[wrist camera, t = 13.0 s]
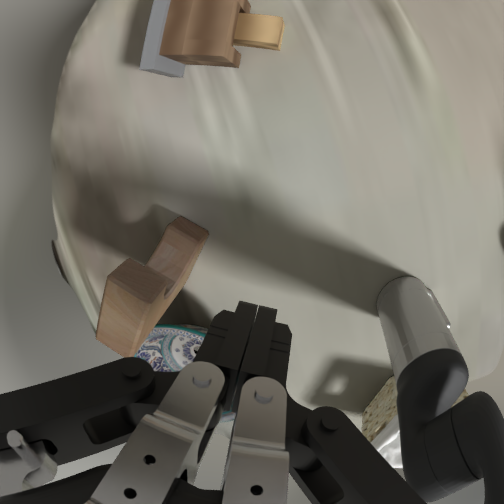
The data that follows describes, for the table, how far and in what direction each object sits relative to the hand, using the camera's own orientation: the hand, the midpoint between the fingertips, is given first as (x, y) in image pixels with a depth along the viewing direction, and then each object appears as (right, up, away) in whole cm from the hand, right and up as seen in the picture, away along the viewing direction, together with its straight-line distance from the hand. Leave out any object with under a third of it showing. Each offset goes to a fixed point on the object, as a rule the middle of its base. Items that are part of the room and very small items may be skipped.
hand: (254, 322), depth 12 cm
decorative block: (-11, +3, +37) cm, 39 cm away
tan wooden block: (-1, +32, +21) cm, 39 cm away
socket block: (-5, +33, +22) cm, 40 cm away
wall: (-10, +34, +22) cm, 42 cm away
